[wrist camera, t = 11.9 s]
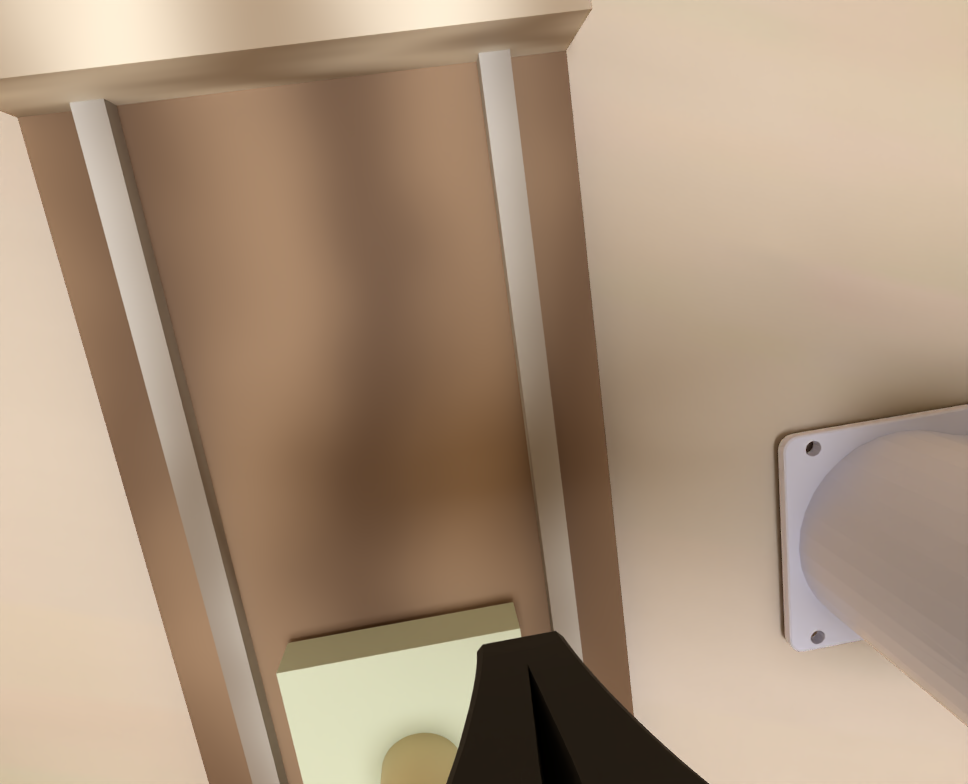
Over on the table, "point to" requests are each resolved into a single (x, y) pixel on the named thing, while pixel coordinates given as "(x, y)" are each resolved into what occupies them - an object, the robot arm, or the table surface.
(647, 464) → the table surface
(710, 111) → the table surface
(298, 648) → the carriage
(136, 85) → the rail
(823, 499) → the robot arm
